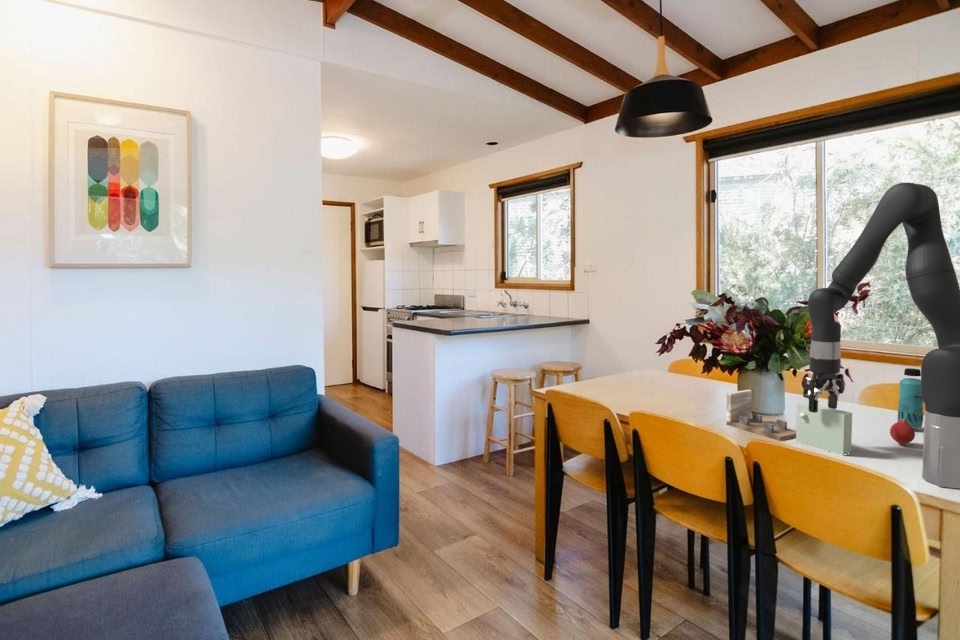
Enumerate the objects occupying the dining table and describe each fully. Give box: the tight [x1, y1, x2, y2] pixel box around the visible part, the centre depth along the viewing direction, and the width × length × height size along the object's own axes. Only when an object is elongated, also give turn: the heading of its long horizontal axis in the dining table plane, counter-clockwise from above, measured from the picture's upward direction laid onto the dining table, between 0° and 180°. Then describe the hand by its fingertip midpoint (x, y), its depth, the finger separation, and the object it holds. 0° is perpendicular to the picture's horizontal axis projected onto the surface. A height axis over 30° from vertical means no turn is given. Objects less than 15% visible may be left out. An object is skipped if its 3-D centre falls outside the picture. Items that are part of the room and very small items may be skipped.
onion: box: [889, 419, 916, 446], centre depth 153 cm, size 6×6×8 cm
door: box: [795, 402, 853, 456], centre depth 152 cm, size 14×4×12 cm, turn 23°
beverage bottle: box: [896, 367, 925, 429], centre depth 167 cm, size 6×7×20 cm
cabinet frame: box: [726, 389, 796, 441], centre depth 171 cm, size 20×10×11 cm, turn 23°
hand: (822, 410), depth 152 cm, fingers open, 8 cm apart
